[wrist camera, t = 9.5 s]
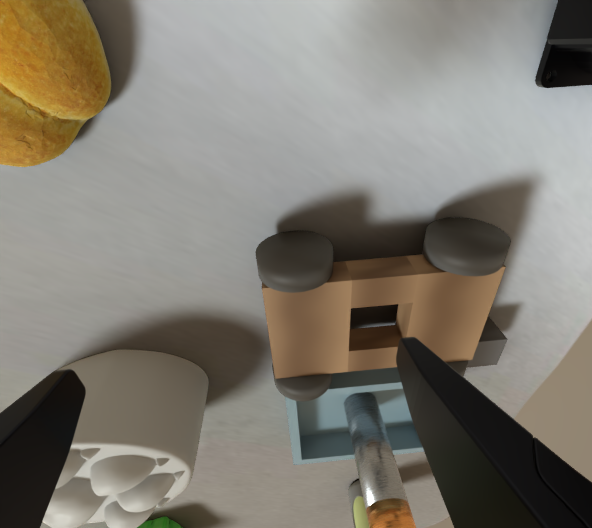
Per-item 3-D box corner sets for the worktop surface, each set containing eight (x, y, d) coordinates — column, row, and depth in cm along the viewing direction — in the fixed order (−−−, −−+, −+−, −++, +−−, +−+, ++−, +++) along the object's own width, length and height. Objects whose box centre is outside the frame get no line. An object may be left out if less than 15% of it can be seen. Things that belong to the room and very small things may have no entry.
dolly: (527, 211, 21) (582, 246, 17) (480, 341, 28) (512, 386, 24) (256, 234, 20) (254, 274, 17) (274, 361, 27) (275, 410, 23)
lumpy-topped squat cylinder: (25, 377, 26) (-67, 502, 19) (169, 329, 24) (128, 447, 17) (110, 439, 32) (63, 554, 25) (232, 404, 30) (220, 517, 23)
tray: (437, 347, 28) (454, 377, 25) (417, 420, 34) (429, 450, 31) (283, 361, 27) (284, 393, 25) (291, 433, 33) (293, 465, 31)
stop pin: (377, 390, 29) (421, 528, 21) (375, 410, 31) (414, 545, 22) (344, 393, 29) (374, 533, 21) (343, 413, 31) (371, 550, 22)
